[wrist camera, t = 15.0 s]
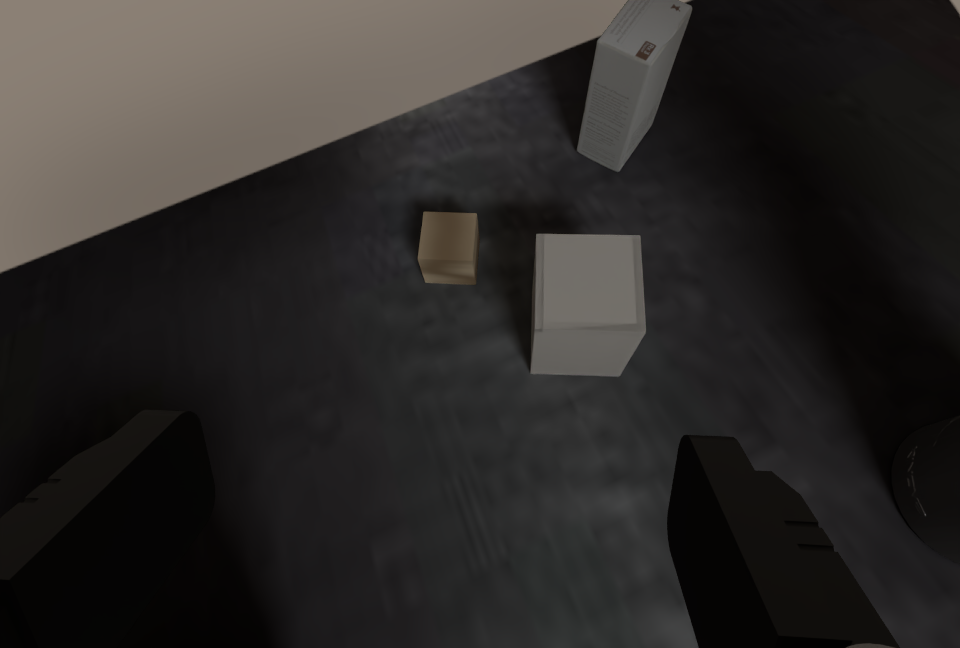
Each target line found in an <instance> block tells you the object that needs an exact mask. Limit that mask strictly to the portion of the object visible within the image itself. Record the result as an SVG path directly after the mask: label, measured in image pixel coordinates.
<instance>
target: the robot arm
mask: <svg viewBox="0 0 960 648" xmlns="http://www.w3.org/2000/svg"><path fill="white" fill-rule="evenodd" d="M891 476H892V487H893V492H894V497H895V500H896V502H897V504H898V507H899V509H900V511H901V514H902V515H903V517H904V518H905V520H906V521H907V523H908V524H909V526H910V527H911V529H912V530H913V531H914V532H915V533H916V534H917V535H918V536H919V537H920V539H921V540H922V541H923V542H924V543H926V544H927V545H928V546H929V547H931V548H932V549H933V550H935V551H936V552H937V553H938V554H940V555H942V556H944V557H946V558H948V559H949V560H951V561H953V562H955V563H958V564H960V415H959V416H956V417H953V418H950V419H946V420H943V421H940V422H937V423H934V424H931V425H927V426H924V427H921V428H919V429H918V430H916V431H914V432H913V433H911V434H910V435H909V436H908V437H907V438H906V439H905V440H904V441H903V442H902V443H901V444H900V446H899V448H898V450H897V452H896V453H895V456H894V460H893V464H892V468H891ZM214 500H215V485H214V480H213V475H212V471H211V466H210V462H209V457H208V453H207V449H206V444H205V440H204V435H203V431H202V426H201V423H200V420H199V418H198V416H197V415H196V414H195V413H193V412H191V411H171V410H149V409H147V410H143V411H141V412H140V413H138V414H137V415H136V416H135V417H133V418H132V419H131V420H130V421H129V422H128V423H126V424H125V425H124V426H123V427H122V428H121V429H119V430H118V431H117V432H116V433H115V434H114V435H112V436H111V437H110V438H108V439H106V440H104V441H102V442H100V443H98V444H96V445H94V446H93V447H91V448H89V449H87V450H85V451H83V452H81V453H79V454H78V455H76V456H74V457H73V458H72V459H70V460H69V461H68V462H67V463H66V464H64V465H63V466H62V467H61V468H60V469H58V470H57V471H56V472H55V473H54V474H52V475H51V476H50V477H49V478H48V481H47V483H42V484H40V485H39V486H38V487H37V488H36V489H34V490H33V491H32V492H31V493H30V494H29V495H27V496H26V497H25V501H24V502H23V503H18V504H17V505H15V506H14V507H13V508H12V509H11V510H9V511H8V512H7V513H6V514H5V515H3V516H2V517H1V518H0V648H117V647H118V645H119V644H120V642H121V641H122V640H123V638H124V637H125V635H126V634H127V633H128V631H129V630H130V629H131V627H132V626H133V624H134V623H135V622H136V620H137V619H138V617H139V616H140V615H141V613H142V612H143V611H144V609H145V608H146V606H147V605H148V604H149V602H150V601H151V599H152V598H153V597H154V595H155V594H156V593H157V591H158V590H159V588H160V587H161V586H162V584H163V583H164V581H165V580H166V579H167V577H168V576H169V575H170V573H171V572H172V570H173V569H174V568H175V566H176V565H177V563H178V562H179V561H180V559H181V558H182V557H183V555H184V554H185V552H186V551H187V550H188V548H189V547H190V545H191V544H192V543H193V541H194V540H195V539H196V537H197V536H198V534H199V533H200V532H201V530H202V529H203V527H204V526H205V525H206V523H207V521H208V519H209V517H210V515H211V513H212V509H213V505H214ZM667 531H668V542H669V548H670V552H671V556H672V559H673V563H674V566H675V569H676V573H677V576H678V579H679V583H680V586H681V589H682V593H683V596H684V599H685V603H686V606H687V609H688V613H689V616H690V619H691V623H692V626H693V630H694V633H695V636H696V640H697V643H698V646H699V648H900V647H899V645H898V644H897V642H896V641H895V639H894V638H893V636H892V635H891V633H890V632H889V630H888V629H887V627H886V626H885V624H884V622H883V621H882V619H881V618H880V616H879V615H878V613H877V612H876V610H875V609H874V607H873V606H872V604H871V602H870V601H869V599H868V598H867V596H866V595H865V593H864V592H863V590H862V589H861V587H860V586H859V584H858V582H857V581H856V579H855V578H854V576H853V575H852V573H851V572H850V570H849V569H848V567H847V566H846V564H845V563H844V561H843V559H842V558H841V556H840V555H839V553H838V552H834V548H833V547H834V546H833V544H832V543H831V541H830V539H829V538H828V536H827V535H826V533H825V532H824V530H823V529H822V528H819V526H818V521H817V520H816V518H815V516H814V515H813V513H812V512H811V510H810V509H809V507H808V506H807V504H806V503H805V501H804V500H803V498H802V496H801V495H800V494H799V493H797V492H796V491H795V490H794V489H793V488H791V487H790V486H789V485H788V484H786V483H785V482H784V481H783V480H781V479H780V478H779V477H778V476H777V475H775V474H774V473H773V472H772V471H755V470H754V468H753V466H752V465H751V463H750V461H749V460H748V458H747V456H746V454H745V453H744V451H743V449H742V447H741V446H740V444H739V442H738V441H737V440H736V439H735V438H734V437H721V436H699V435H684V436H683V437H682V438H681V441H680V444H679V448H678V454H677V460H676V466H675V472H674V478H673V484H672V490H671V496H670V502H669V508H668V517H667Z"/></svg>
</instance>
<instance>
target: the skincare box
mask: <svg viewBox="0 0 960 648" xmlns="http://www.w3.org/2000/svg"><path fill="white" fill-rule="evenodd" d="M691 12H692V6H690V5H688V4H686V3H683V2H681V1H679V0H628V1H627V2H626V4H625V5H624V6H623V8H622V9H621V11H620V12H619V13H618V14H617V16H616V17H615V18H614V20H613V21H612V22H611V24H610V25H609V26H608V28H607V29H606V30H605V32H604V33H603V34H602V36H601V37H600V38H599V39H598V41H597V46H596V51H595V57H594V62H593V67H592V71H591V77H590V82H589V87H588V93H587V98H586V103H585V108H584V114H583V119H582V125H581V130H580V135H579V141H578V146H577V151H578V152H579V153H580V154H582V155H584V156H586V157H587V158H589V159H591V160H593V161H595V162H597V163H599V164H601V165H603V166H605V167H607V168H609V169H611V170H614V171H616V172H619V171H620V170H621V168H622V167H623V165H624V164H625V162H626V161H627V160H628V158H629V157H630V155H631V154H632V152H633V151H634V150H635V148H636V147H637V145H638V144H639V142H640V141H641V140H642V138H643V137H644V135H645V134H646V133H647V131H648V130H649V128H650V127H651V125H652V123H653V121H654V118H655V115H656V112H657V109H658V107H659V104H660V101H661V98H662V95H663V92H664V89H665V86H666V83H667V80H668V78H669V74H670V72H671V69H672V66H673V63H674V60H675V57H676V54H677V52H678V49H679V46H680V43H681V40H682V38H683V35H684V32H685V29H686V26H687V23H688V20H689V18H690V15H691Z"/></svg>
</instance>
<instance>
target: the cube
mask: <svg viewBox="0 0 960 648" xmlns="http://www.w3.org/2000/svg"><path fill="white" fill-rule="evenodd" d="M479 243H480V238H479V229H478V220H477V213H450V212H424V213H423V221H422V229H421V237H420V244H419V252H418V261H419V265H420V268H421V271H422V274H423V277H424V280H425V283H446V284H468V285H476V278H477V266H478V254H479Z"/></svg>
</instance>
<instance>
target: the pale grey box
mask: <svg viewBox="0 0 960 648" xmlns="http://www.w3.org/2000/svg"><path fill="white" fill-rule="evenodd" d="M645 333H646V323H645V306H644V290H643V273H642V256H641V240H640V235H580V234H536V246H535V260H534V274H533V287H532V321H531V374H557V375H587V376H618V377H619V376H620V375H621V373H622V371H623V370H624V368H625V366H626V365H627V363H628V361H629V360H630V358H631V356H632V355H633V353H634V351H635V350H636V348H637V346H638V345H639V343H640V341H641V340H642V338H643V336H644V335H645Z"/></svg>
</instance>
